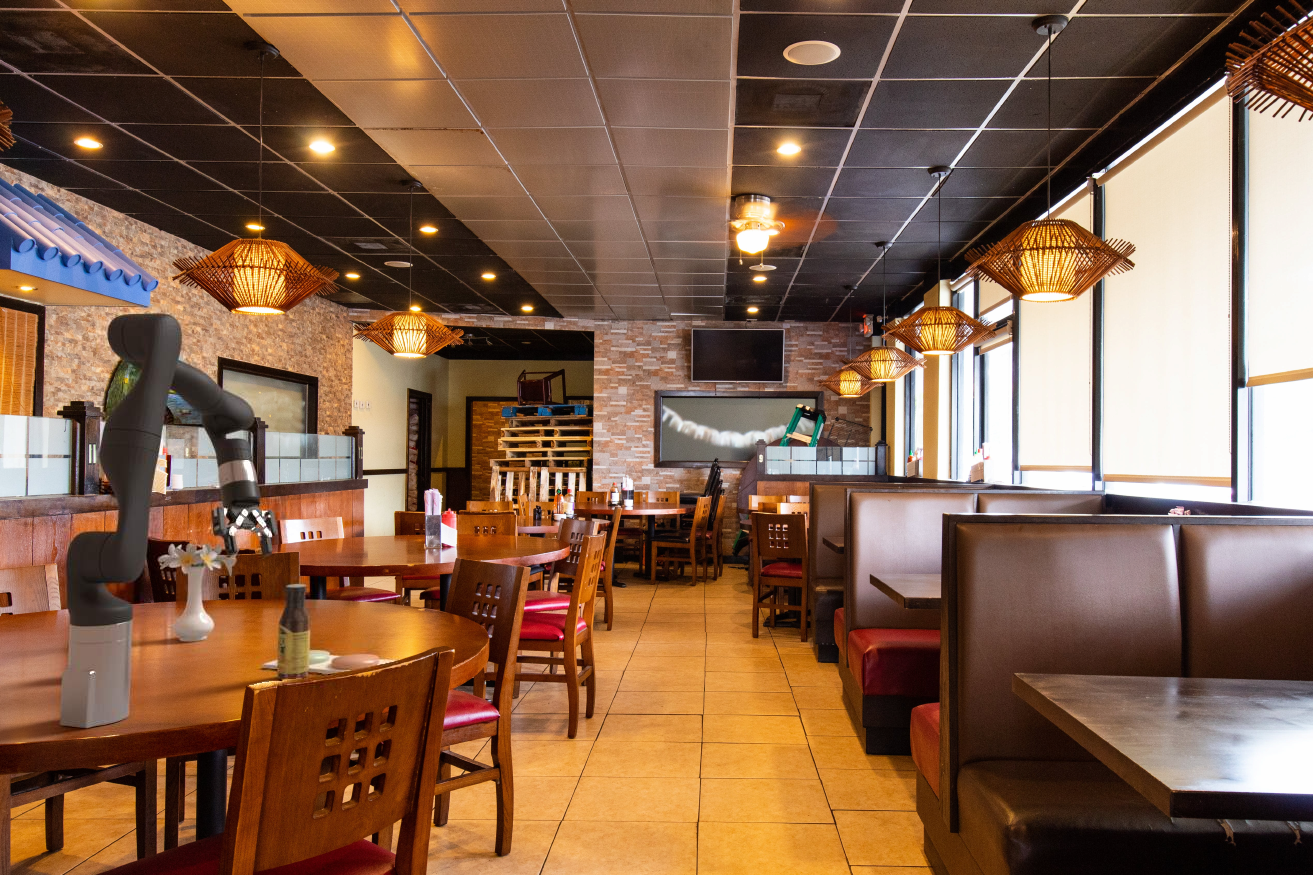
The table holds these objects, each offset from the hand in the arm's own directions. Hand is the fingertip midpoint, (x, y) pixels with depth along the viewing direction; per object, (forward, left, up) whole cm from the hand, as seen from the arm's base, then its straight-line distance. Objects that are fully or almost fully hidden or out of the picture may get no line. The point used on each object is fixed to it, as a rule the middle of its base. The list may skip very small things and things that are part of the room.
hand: (250, 554), depth 173 cm
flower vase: (+29, +41, -26) cm, 57 cm away
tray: (+14, -11, -26) cm, 31 cm away
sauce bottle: (+3, -10, -26) cm, 28 cm away
